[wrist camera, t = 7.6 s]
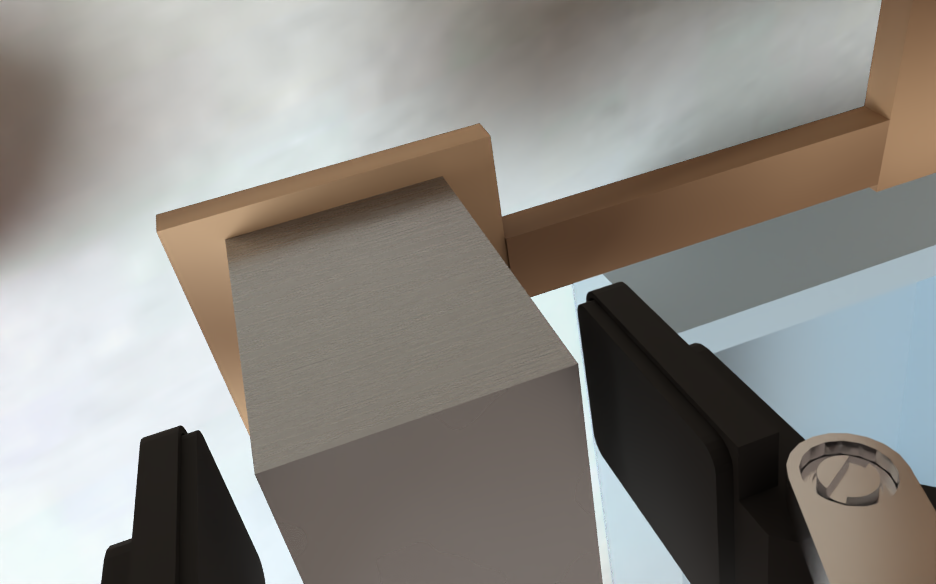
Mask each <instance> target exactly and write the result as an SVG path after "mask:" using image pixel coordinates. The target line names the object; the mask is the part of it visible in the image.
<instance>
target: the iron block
mask: <svg viewBox="0 0 936 584" xmlns="http://www.w3.org/2000/svg"><path fill="white" fill-rule="evenodd" d="M225 243H226V251H227V259H228V266H229V274H230V282H231V290H232V298H233V306H234V314H235V322H236V330H237V337H238V345H239V353H240V361H241V369H242V377H243V385H244V393H245V401H246V409H247V416H248V424H249V432H250V440H251V448H252V456H253V464H254V472H255V476H256V478H257V480H258V482H259V485H260V487H261V489H262V491H263V494H264V496H265V498H266V500H267V503H268V505H269V507H270V509H271V511H272V514H273V516H274V518H275V520H276V523H277V525H278V527H279V529H280V532H281V534H282V536H283V538H284V541H285V543H286V545H287V547H288V549H289V552H290V554H291V556H292V558H293V561H294V563H295V565H296V567H297V570H298V572H299V574H300V576H301V578H302V581H303V583H304V584H603V583H602V574H601V565H600V556H599V547H598V538H597V529H596V520H595V511H594V502H593V493H592V484H591V475H590V466H589V457H588V448H587V439H586V430H585V422H584V413H583V404H582V395H581V386H580V377H579V368H578V363H577V362H576V360H575V359H574V358H573V356H572V355H571V353H570V352H569V351H568V349H567V348H566V346H565V345H564V344H563V342H562V341H561V340H560V338H559V337H558V335H557V334H556V333H555V331H554V330H553V328H552V327H551V326H550V324H549V323H548V322H547V320H546V319H545V317H544V316H543V315H542V313H541V312H540V310H539V309H538V308H537V306H536V305H535V304H534V302H533V301H532V299H531V298H530V297H529V295H528V294H527V292H526V291H525V290H524V288H523V287H522V286H521V284H520V283H519V281H518V280H517V279H516V277H515V276H514V274H513V273H512V272H511V270H510V269H509V268H508V266H507V265H506V263H505V262H504V261H503V259H502V258H501V256H500V255H499V254H498V252H497V251H496V250H495V248H494V247H493V245H492V244H491V243H490V241H489V240H488V238H487V237H486V236H485V234H484V233H483V232H482V230H481V229H480V227H479V226H478V225H477V223H476V222H475V220H474V219H473V218H472V216H471V215H470V213H469V212H468V211H467V209H466V208H465V207H464V205H463V204H462V202H461V201H460V200H459V198H458V197H457V195H456V194H455V193H454V191H453V190H452V189H451V187H450V186H449V184H448V183H447V182H446V180H445V179H444V177H443V176H441V177H437V178H434V179H430V180H427V181H424V182H420V183H417V184H413V185H410V186H406V187H403V188H400V189H396V190H393V191H389V192H386V193H382V194H379V195H376V196H372V197H369V198H365V199H362V200H358V201H355V202H352V203H348V204H345V205H341V206H338V207H334V208H331V209H328V210H324V211H321V212H317V213H314V214H310V215H307V216H303V217H300V218H297V219H293V220H290V221H286V222H283V223H279V224H276V225H273V226H269V227H266V228H262V229H259V230H255V231H252V232H249V233H245V234H242V235H238V236H235V237H231V238H228V239H225Z"/></svg>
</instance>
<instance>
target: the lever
mask: <svg viewBox="0 0 936 584" xmlns="http://www.w3.org/2000/svg"><path fill="white" fill-rule="evenodd" d="M933 173H936V0H882V3H881V9H880V15H879V21H878V27H877V33H876V39H875V45H874V51H873V57H872V63H871V69H870V75H869V81H868V87H867V93H866V99H865V105H864V106H863V107H860V108H857V109H853V110H850V111H847V112H843V113H840V114H837V115H834V116H830V117H827V118H824V119H820V120H817V121H814V122H811V123H807V124H804V125H801V126H798V127H794V128H791V129H788V130H784V131H781V132H778V133H775V134H771V135H768V136H765V137H761V138H758V139H755V140H752V141H748V142H745V143H742V144H739V145H735V146H732V147H729V148H725V149H722V150H719V151H716V152H712V153H709V154H706V155H703V156H699V157H696V158H693V159H689V160H686V161H683V162H680V163H676V164H673V165H670V166H666V167H663V168H660V169H657V170H653V171H650V172H647V173H644V174H640V175H637V176H634V177H630V178H627V179H624V180H621V181H617V182H614V183H611V184H607V185H604V186H601V187H598V188H594V189H591V190H588V191H585V192H581V193H578V194H575V195H571V196H568V197H565V198H562V199H558V200H555V201H552V202H549V203H545V204H542V205H539V206H535V207H532V208H529V209H526V210H522V211H519V212H516V213H512V214H509V215H506V216H503V217H502V215H501V208H500V201H499V194H498V187H497V180H496V173H495V166H494V159H493V151H492V144H491V137H490V135H489V134H488V133H487V131H486V130H485V129H484V128H483V127H482V125H481V124H480V123H479V124H475V125H472V126H468V127H465V128H461V129H457V130H454V131H450V132H447V133H443V134H440V135H436V136H433V137H429V138H426V139H422V140H419V141H415V142H412V143H408V144H405V145H401V146H398V147H394V148H390V149H387V150H383V151H380V152H376V153H373V154H369V155H366V156H362V157H359V158H355V159H352V160H348V161H345V162H341V163H338V164H334V165H331V166H327V167H323V168H320V169H316V170H313V171H309V172H306V173H302V174H299V175H295V176H292V177H288V178H285V179H281V180H278V181H274V182H271V183H267V184H263V185H260V186H256V187H253V188H249V189H246V190H242V191H239V192H235V193H232V194H228V195H225V196H221V197H218V198H214V199H211V200H207V201H204V202H200V203H196V204H193V205H189V206H186V207H182V208H179V209H175V210H172V211H168V212H165V213H161V214H158V215H156V232H157V234H158V236H159V238H160V241H161V243H162V245H163V247H164V249H165V252H166V254H167V256H168V258H169V260H170V262H171V265H172V267H173V269H174V271H175V273H176V276H177V278H178V280H179V282H180V284H181V287H182V289H183V291H184V293H185V295H186V298H187V300H188V302H189V304H190V306H191V308H192V311H193V313H194V315H195V317H196V319H197V322H198V324H199V326H200V328H201V330H202V333H203V335H204V337H205V339H206V341H207V344H208V346H209V348H210V350H211V352H212V354H213V357H214V359H215V361H216V363H217V365H218V368H219V370H220V372H221V374H222V376H223V379H224V381H225V383H226V385H227V387H228V390H229V392H230V394H231V396H232V398H233V400H234V403H235V405H236V407H237V409H238V411H239V414H240V416H241V418H242V420H243V422H244V425H245V427H246V429H247V431H248V433H249V436H250V432H249V424H248V416H247V409H246V401H245V393H244V385H243V377H242V369H241V361H240V353H239V345H238V337H237V330H236V322H235V314H234V306H233V298H232V290H231V282H230V274H229V266H228V259H227V251H226V243H225V239H228V238H231V237H235V236H238V235H242V234H245V233H249V232H252V231H255V230H259V229H262V228H266V227H269V226H273V225H276V224H279V223H283V222H286V221H290V220H293V219H297V218H300V217H303V216H307V215H310V214H314V213H317V212H321V211H324V210H328V209H331V208H334V207H338V206H341V205H345V204H348V203H352V202H355V201H358V200H362V199H365V198H369V197H372V196H376V195H379V194H382V193H386V192H389V191H393V190H396V189H400V188H403V187H406V186H410V185H413V184H417V183H420V182H424V181H427V180H430V179H434V178H437V177H441V176H443V177H444V179H445V180H446V182H447V183H448V184H449V186H450V187H451V189H452V190H453V191H454V193H455V194H456V195H457V197H458V198H459V200H460V201H461V202H462V204H463V205H464V207H465V208H466V209H467V211H468V212H469V213H470V215H471V216H472V218H473V219H474V220H475V222H476V223H477V225H478V226H479V227H480V229H481V230H482V232H483V233H484V234H485V236H486V237H487V238H488V240H489V241H490V243H491V244H492V245H493V247H494V248H495V250H496V251H497V252H498V254H499V255H500V256H501V258H502V259H503V261H504V262H505V263H506V265H507V266H508V268H509V269H510V270H511V272H512V273H513V274H514V276H515V277H516V279H517V280H518V281H519V283H520V284H521V286H522V287H523V288H524V290H525V291H526V292H527V294H528V295H529V297H533V296H536V295H539V294H542V293H545V292H548V291H551V290H555V289H558V288H561V287H564V286H567V285H570V284H573V283H576V282H579V281H582V280H585V279H588V278H591V277H595V276H598V275H601V274H604V273H607V272H610V271H613V270H616V269H619V268H622V267H625V266H628V265H632V264H635V263H638V262H641V261H644V260H647V259H650V258H653V257H656V256H659V255H662V254H665V253H668V252H672V251H675V250H678V249H681V248H684V247H687V246H690V245H693V244H696V243H699V242H702V241H705V240H708V239H712V238H715V237H718V236H721V235H724V234H727V233H730V232H733V231H736V230H739V229H742V228H745V227H749V226H752V225H755V224H758V223H761V222H764V221H767V220H770V219H773V218H776V217H779V216H782V215H785V214H789V213H792V212H795V211H798V210H801V209H804V208H807V207H810V206H813V205H816V204H819V203H822V202H826V201H829V200H832V199H835V198H838V197H841V196H844V195H847V194H850V193H853V192H856V191H859V190H862V189H866V188H871V189H872V190H874V191H876V192H878V191H881V190H884V189H887V188H891V187H894V186H897V185H900V184H903V183H906V182H909V181H912V180H915V179H918V178H921V177H924V176H927V175H930V174H933Z"/></svg>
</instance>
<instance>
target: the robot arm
mask: <svg viewBox="0 0 936 584" xmlns="http://www.w3.org/2000/svg"><path fill="white" fill-rule="evenodd" d="M577 312H578V321H579V328H580V336H581V343H582V351H583V358H584V366H585V373H586V380H587V388H588V395H589V403H590V410H591V418H592V425H593V433H594V438H595V441H596V444H597V447H598V449H599V451H600V453H601V455H602V457H603V458H604V460H605V461H606V463H607V464H608V465H609V467H610V468H611V470H612V471H613V473H614V474H615V476H616V477H617V478H618V480H619V481H620V483H621V484H622V486H623V487H624V488H625V490H626V491H627V493H628V494H629V496H630V497H631V499H632V500H633V501H634V503H635V504H636V506H637V507H638V509H639V510H640V512H641V513H642V514H643V516H644V517H645V519H646V520H647V522H648V523H649V525H650V526H651V527H652V529H653V530H654V532H655V533H656V535H657V536H658V537H659V539H660V540H661V542H662V543H663V545H664V546H665V548H666V549H667V550H668V552H669V553H670V555H671V556H672V558H673V559H674V561H675V562H676V563H677V565H678V566H679V568H680V569H681V571H682V572H683V573H684V575H685V576H686V578H687V579H688V581H689V582H690V584H936V487H933V486H928V485H922V484H920V483H919V482H918V480H917V478H916V476H915V475H914V473H913V471H912V469H911V468H910V466H909V465H908V464H907V463H906V461H905V460H904V459H903V458H902V457H901V455H900V454H898V453H897V452H896V451H894V450H893V449H891V448H890V447H888V446H887V445H885V444H883V443H881V442H878V441H876V440H874V439H871V438H869V437H865V436H860V435H855V434H850V433H827V434H823V435H818V436H813V437H811V438H809V439H807V440H805V439H804V438H803V437H802V436H801V435H800V434H799V433H798V432H797V431H795V430H794V429H793V428H792V427H791V426H790V425H789V424H788V423H787V422H786V421H785V420H784V419H783V418H782V417H781V416H779V415H778V414H777V413H776V412H775V411H774V410H773V409H772V408H771V407H770V406H769V405H768V404H767V403H766V402H765V401H763V400H762V399H761V398H760V397H759V396H758V395H757V394H756V393H755V392H754V391H753V390H752V389H751V388H750V387H749V386H747V385H746V384H745V383H744V382H743V381H742V380H741V379H740V378H739V377H738V376H737V375H736V374H735V373H734V372H733V371H731V370H730V369H729V368H728V367H727V366H726V365H725V364H724V363H723V362H722V361H721V360H720V359H719V358H718V357H717V356H716V355H714V354H713V353H712V352H711V351H710V350H709V349H708V348H707V347H705V346H704V345H702V344H700V343H693V344H690V345H689V344H688V343H687V342H686V341H685V340H684V339H682V338H681V337H680V336H679V335H678V334H677V333H676V332H675V331H674V330H673V329H672V328H671V327H670V326H669V325H668V324H667V323H666V322H665V321H664V320H663V319H662V318H661V317H660V316H659V315H658V314H657V313H656V312H655V311H654V310H652V309H651V308H650V307H649V306H648V305H647V304H646V303H645V302H644V301H643V300H642V299H641V298H640V297H639V296H638V295H637V294H636V293H635V292H634V291H633V290H632V289H631V288H630V287H629V286H628V285H627V284H625V283H624V282H617V283H614V284H611V285H608V286H605V287H602V288H599V289H595V290H592V291H589V292H588V293H587V295H586V302H585V303H582V304H579V305H578V309H577ZM101 584H265V578H264V573H263V569H262V565H261V562H260V559H259V556H258V554H257V552H256V549H255V547H254V545H253V543H252V541H251V539H250V536H249V534H248V532H247V530H246V528H245V526H244V523H243V521H242V519H241V517H240V515H239V513H238V510H237V508H236V506H235V504H234V502H233V500H232V497H231V495H230V493H229V491H228V489H227V487H226V484H225V482H224V480H223V478H222V476H221V474H220V471H219V469H218V467H217V465H216V463H215V461H214V458H213V456H212V454H211V452H210V450H209V448H208V445H207V443H206V441H205V439H204V437H203V435H202V433H201V432H200V431H199V430H197V431H194V432H191V433H187V431H186V430H185V429H184V427H183V426H181V425H180V426H177V427H174V428H171V429H168V430H165V431H162V432H159V433H156V434H153V435H150V436H147V437H144V438H142V439H141V442H140V451H139V463H138V474H137V486H136V498H135V509H134V521H133V533H132V539H129V540H126V541H123V542H120V543H117V544H114V545H111V546H110V547H109V548H108V549H107V551H106V554H105V558H104V564H103V572H102V580H101Z"/></svg>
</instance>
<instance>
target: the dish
mask: <svg viewBox="0 0 936 584" xmlns="http://www.w3.org/2000/svg"><path fill="white" fill-rule="evenodd" d="M617 282H624V283H625V284H627V285H628V286H629V287H630V288H631V289H632V290H633V291H634V292H635V293H636V294H637V295H638V296H639V297H640V298H641V299H642V300H643V301H644V302H645V303H646V304H647V305H648V306H649V307H650V308H651V309H652V310H654V311H655V312H656V313H657V314H658V315H659V316H660V317H661V318H662V319H663V320H664V321H665V322H666V323H667V324H668V325H669V326H670V327H671V328H672V329H673V330H674V331H675V332H676V333H677V334H678V335H679V336H680V337H681V338H682V339H684V340H685V341H686V342H687V343H688V344H689V345H690V344H693V343H700V344H702V345H704V346H705V347H707V348H708V349H709V350H710V351H711V352H712V353H713V354H714V355H716V356H717V357H718V358H719V359H720V360H721V361H722V362H723V363H724V364H725V365H726V366H727V367H728V368H729V369H730V370H731V371H733V372H734V373H735V374H736V375H737V376H738V377H739V378H740V379H741V380H742V381H743V382H744V383H745V384H746V385H747V386H749V387H750V388H751V389H752V390H753V391H754V392H755V393H756V394H757V395H758V396H759V397H760V398H761V399H762V400H763V401H765V402H766V403H767V404H768V405H769V406H770V407H771V408H772V409H773V410H774V411H775V412H776V413H777V414H778V415H779V416H781V417H782V418H783V419H784V420H785V421H786V422H787V423H788V424H789V425H790V426H791V427H792V428H793V429H794V430H795V431H797V432H798V433H799V434H800V435H801V436H802V437H803V438H804V439H805V440H807V439H809V438H811V437H813V436H818V435H823V434H827V433H850V434H855V435H860V436H865V437H869V438H871V439H874V440H876V441H878V442H881V443H883V444H885V445H887V446H888V447H890V448H891V449H893V450H894V451H896V452H897V453H898V454H900V455H901V457H902V458H903V459H904V460H905V461H906V463H907V464H908V465H909V466H910V468H911V469H912V471H913V473H914V475H915V476H916V478H917V480H918V482H919V483H920V484H922V485H928V486H933V487H936V173H933V174H930V175H927V176H924V177H921V178H918V179H915V180H912V181H909V182H906V183H903V184H900V185H897V186H894V187H891V188H887V189H884V190H881V191H878V192H876V191H874V190H872V189H871V188H866V189H862V190H859V191H856V192H853V193H850V194H847V195H844V196H841V197H838V198H835V199H832V200H829V201H826V202H822V203H819V204H816V205H813V206H810V207H807V208H804V209H801V210H798V211H795V212H792V213H789V214H785V215H782V216H779V217H776V218H773V219H770V220H767V221H764V222H761V223H758V224H755V225H752V226H749V227H745V228H742V229H739V230H736V231H733V232H730V233H727V234H724V235H721V236H718V237H715V238H712V239H708V240H705V241H702V242H699V243H696V244H693V245H690V246H687V247H684V248H681V249H678V250H675V251H672V252H668V253H665V254H662V255H659V256H656V257H653V258H650V259H647V260H644V261H641V262H638V263H635V264H632V265H628V266H625V267H622V268H619V269H616V270H613V271H610V272H607V273H604V274H601V275H598V276H595V277H591V278H588V279H585V280H582V281H579V282H576V283H573V289H574V296H575V304H576V311H577V309H578V305H579V304H582V303H585V302H586V295H587V293H588V292H589V291H592V290H595V289H599V288H602V287H605V286H608V285H611V284H614V283H617ZM577 319H578V312H577ZM578 326H579V321H578ZM579 333H580V328H579ZM580 341H581V336H580ZM581 348H582V343H581ZM582 356H583V351H582ZM583 363H584V358H583ZM584 371H585V366H584ZM585 378H586V373H585ZM586 385H587V380H586ZM587 393H588V388H587ZM588 400H589V395H588ZM589 408H590V403H589ZM590 415H591V410H590ZM591 423H592V418H591ZM592 430H593V425H592ZM593 437H594V433H593ZM594 445H595V452H596V460H597V467H598V474H599V482H600V489H601V497H602V504H603V512H604V519H605V526H606V534H607V541H608V549H609V556H610V564H611V571H612V578H613V584H690V582H689V581H688V579H687V578H686V576H685V575H684V573H683V572H682V571H681V569H680V568H679V566H678V565H677V563H676V562H675V561H674V559H673V558H672V556H671V555H670V553H669V552H668V550H667V549H666V548H665V546H664V545H663V543H662V542H661V540H660V539H659V537H658V536H657V535H656V533H655V532H654V530H653V529H652V527H651V526H650V525H649V523H648V522H647V520H646V519H645V517H644V516H643V514H642V513H641V512H640V510H639V509H638V507H637V506H636V504H635V503H634V501H633V500H632V499H631V497H630V496H629V494H628V493H627V491H626V490H625V488H624V487H623V486H622V484H621V483H620V481H619V480H618V478H617V477H616V476H615V474H614V473H613V471H612V470H611V468H610V467H609V465H608V464H607V463H606V461H605V460H604V458H603V457H602V455H601V453H600V451H599V449H598V447H597V444H596V441H595V438H594Z"/></svg>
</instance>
